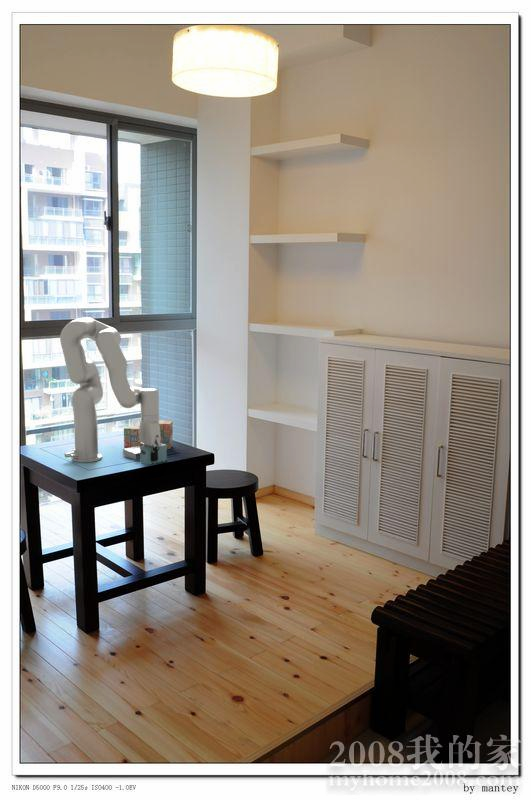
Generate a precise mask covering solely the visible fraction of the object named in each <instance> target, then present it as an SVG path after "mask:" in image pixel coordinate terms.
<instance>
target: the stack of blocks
mask: <svg viewBox="0 0 531 800" xmlns="http://www.w3.org/2000/svg"><path fill="white" fill-rule="evenodd" d="M159 426H160V438H161V440H160V443H162V444H165V445H167V449H170V448H171V447H172V448H173V429H174V427H173V420H167V419H165V420H161V419H159ZM139 427H140V425H126V426H124V428H123V443H124V444H123V449H126V448H131V447H136V446H141V442H140V441H139ZM172 448H171V449H172ZM171 449H170V450H171Z"/></svg>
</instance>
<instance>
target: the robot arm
mask: <svg viewBox="0 0 531 800" xmlns="http://www.w3.org/2000/svg"><path fill="white" fill-rule="evenodd" d="M59 338H60V340H59V341H60V346H61V349H62V353H63V357H64V362H65V366H66V370H67V375H68V378H69V380H70V381H71V382H72V383H73V384H76V385H79V387H78V388H76V389H75V390H74V391H73V394H72V396H71V405H72V411H73V425H74V426H73V427H74V448H72V451H70V452H65V453H64V457H65V458H66V459H67V458H71V460H72V461H73V462H76V463H83V464H84V463H93V462H99V461H100V460H102V458H103V456H102V454H101V453H99V445H98V443H99V441H98V440H99V439H98V437H99V436H98V413H97V409H96V405H97V404H98V403H99V404H100V402H101V401H102V399H103V395H104V390H103V386H102V385H103V384H102V382H101V378H100V373H99V369H98V367H97V364H95V362H94V361H93V360H91V359H88V358H87V357H86V355H85V354H86V353H85V350H84V346H83V345H82V340H84V339H87V338H88V339H91V340H92V341H94V342H95V346H96V348H97V349H98V352H99V354H100V355H101V358H102V360H103V363H104V364H105V366H106V368H107V371H108V372H107V373H108V378H109V382H110V387H111V389H112V391H113V394H114V396H115V398H116V400H117V402H118V403H119V405H120V406H121V407H123V408H125V409H132V408H133V407H135V406H137V405H139V404H140V422H139V426H140V427H139V441H140V442H141V443H142V446H145V445H148V446H151V450H152V452H151V461H152V462H153V461H158V451H159V449H160V447H161V443H160V440H161V438H160V426H159V420H160V405H159V404H160V401H159V400H160V397H159V389H156V388H152V387H151V388H150V387H148V388H147V387H146V388H143V387H138V386H131V385H130V384H129V381H128V376H127V369H128V362H127V359H126V357H125V355H124V352H123V351H122V348H121V346H120V344H121V341H122V336H121V333H120V332H119V331H118V330H117V329H116V328H114V327H112V326H109V325H107V324H105V323H103V322H100V321H98V320H96V319H95V318H92V317H81V318H76V319H73V320H71V321H70V322H68V323H67V324H66V325H65V326H64V327H63V328H62V330H61V332H60V335H59ZM154 444H155V445H154ZM153 446H155V448H154V447H153Z"/></svg>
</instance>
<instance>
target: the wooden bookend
mask: <svg viewBox="0 0 531 800" xmlns="http://www.w3.org/2000/svg"><path fill="white" fill-rule="evenodd" d="M141 446H142V443H141ZM122 450H123V451H122V452H123V453H122V455H123V457H126V458H128V459H131V460H133V459H134V461H140V460H139V459H140V446H136V447H131V448H123V449H122Z"/></svg>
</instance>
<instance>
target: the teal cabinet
mask: <svg viewBox="0 0 531 800" xmlns="http://www.w3.org/2000/svg"><path fill="white" fill-rule="evenodd" d="M154 445H155V444H154ZM153 447H154V448H155V446H153ZM167 451H168V450H167V445H165V444H162V443H161V447H160V449H159V451H158V461H153V462H152V461H151V452H152V450H151V446H148V445H145V446H140V460H139V461H140V463H141V462H142V463H141V464H143V463H145V464H144V465H146V464H149V465H153V464H152V463H154V464H157V463H156V462H158V463H162V462H161V461H163V462H166V461H165V460H168V457H167V456H168V455H167V453H168V452H167Z"/></svg>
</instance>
